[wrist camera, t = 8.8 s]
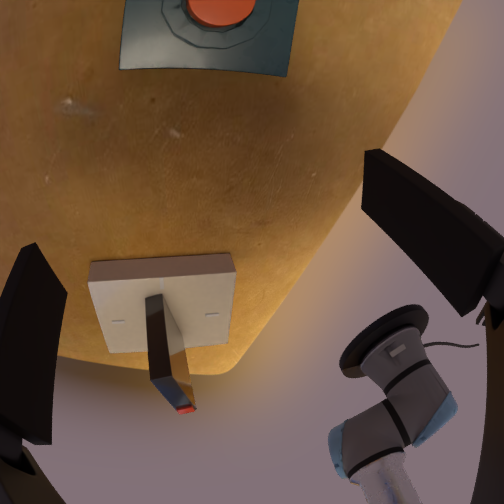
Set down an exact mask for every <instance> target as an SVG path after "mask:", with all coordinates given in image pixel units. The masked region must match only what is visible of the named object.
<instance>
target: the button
mask: <svg viewBox="0 0 504 504" xmlns="http://www.w3.org/2000/svg"><path fill="white" fill-rule="evenodd" d="M255 2H256V0H186V7H187V10H188V12H189V14H190V16H191V17H192V18H193V19H194V20H195V21H196V22H198V23H199V24H201V25H204V26H206V27H211V28H223V27H227V26H230V25H233V24H236V23H238V22H240V21H242V20H243V19H245V18H246V17H247V16H248V15H249V14H250V13H251V12H252V10H253V8H254V6H255Z"/></svg>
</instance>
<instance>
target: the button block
mask: <svg viewBox="0 0 504 504" xmlns="http://www.w3.org/2000/svg"><path fill="white" fill-rule="evenodd" d="M298 3H299V0H256V2H255V6H254V8H253V10H252V12H251V13H250V14H249V15H248V16H247V17H246V18H245V19H243V20H242V21H240V22H238V23H236V24H233V25H230V26H227V27H223V28H211V27H206V26H204V25H201V24H199V23H198V22H196V21H195V20H194V19H193V18H192V17H191V16H190V14H189V12H188V10H187V7H186V0H126V2H125V10H124V17H123V26H122V35H121V46H120V59H119V70H130V69H157V68H183V69H210V70H226V71H238V72H248V73H257V74H265V75H273V76H280V77H286V76H287V70H288V64H289V58H290V52H291V46H292V40H293V34H294V27H295V21H296V15H297V9H298Z"/></svg>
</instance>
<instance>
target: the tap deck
mask: <svg viewBox="0 0 504 504" xmlns="http://www.w3.org/2000/svg"><path fill="white" fill-rule="evenodd" d="M236 273H237V272H236V269H235V267H234V264H233V261H232V258H231V256H230V253H227V254H211V255H195V256H178V257H162V258H145V259H129V260H113V261H96V262H91V266H90V271H89V276H88V281H87V283H88V286H89V290H90V293H91V297H92V300H93V304H94V307H95V310H96V314H97V317H98V320H99V323H100V326H101V329H102V332H103V335H104V338H105V341H106V344H107V347H108V349H109V352H110V353H127V352H143V351H148V348H147V333H146V314H145V298H148V297H151V296H155V295H159V294H163V296H164V298H165V300H166V303H167V305H168V307H169V309H170V311H171V313H172V315H173V317H174V319H175V322H176V324H177V326H178V328H179V330H180V332H181V334H182V336H183V340H184V346H185V348H191V347H201V346H210V345H218V344H227V343H228V337H229V329H230V320H231V312H232V305H233V297H234V289H235V281H236Z"/></svg>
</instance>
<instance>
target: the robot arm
mask: <svg viewBox="0 0 504 504" xmlns="http://www.w3.org/2000/svg"><path fill="white" fill-rule="evenodd" d="M361 209H362V210H363V211H364V212H365V213H366V214H367V215H368V216H369V217H370V218H371V219H372V220H373V221H374V222H375V223H376V224H377V225H378V226H379V227H380V228H381V229H382V230H383V231H384V232H385V233H386V234H388V236H390V238H392V240H393V241H394V242H395V243H396V244H397V245H398V246H399V247H400V248H401V249H402V250H403V251H404V252H405V253H406V254H407V255H408V256H409V257H410V259H412V261H413V262H414V263H415V264H416V265H417V266H418V267H419V268H420V269H421V270H422V272H423V273H424V274H425V275H426V276H427V277H428V278H429V279H430V280H431V282H432V283H433V284H434V285H435V286H436V287H437V289H438V290H439V291H440V292H441V293H442V294H443V295H444V297H445V298H446V299H447V300H448V301H449V303H450V304H451V305H452V306H453V307H454V308H455V310H456V311H457V312H458V313H459V315H460V316H461V317H463V316H464V315H466V314H468V313H469V312H471V311H472V310H474V309H475V308H476V307H477V305H478V303H479V301H480V299H481V298H482V296H484V297H485V299H486V300H487V302H486V303H485V305H484V307H483V309H482V310H481V312H480V314H479V316H478V317H477V319H476V324H479V322H480V321H481V319H482V318H483V316H485V320H484V321H483V323H482V325H483V326H486V341H487V398H486V415H485V425H484V434H483V443H482V450H481V456H480V462H479V468H478V473H477V478H476V483H475V487H474V492H473V496H472V500H471V503H470V504H504V237H503V236H502V235H500V234H499V233H498V232H497V231H496V230H495V229H494V228H492V227H491V226H490V225H489V224H488V223H487V222H485V221H483V219H482V218H480V217H479V216H478V215H477V214H476V215H475V212H473V211H472V210H471V209H469V208H468V207H467V206H466V205H464V204H462V203H460V202H458V201H456V200H454V199H453V198H452V197H451V196H449V195H448V194H447V193H445V192H444V191H443V190H441V189H440V188H439V187H437V186H436V185H434V184H433V183H431V182H430V181H429V180H427V179H426V178H424V177H423V176H422V175H420V174H419V173H417V172H416V171H414V170H413V169H411V168H410V167H408V166H407V165H405V164H404V163H402V162H400V161H399V160H397V159H396V158H394V157H393V156H391V155H389V154H388V153H386V152H385V151H383V150H381V149H380V148H379V149H373V150H367V151H365V154H364V175H363V191H362V205H361ZM67 294H68V293H67V291H66V290H65V288H64V287H63V285H62V284H61V282H60V281H59V279H58V278H57V276H56V275H55V273H54V272H53V270H52V268H51V267H50V265H49V264H48V262H47V260H46V259H45V257H44V256H43V254H42V252H41V251H40V249H39V247H38V245H37V244H36V242H35V243H32V244H30V245H27V246H25V247H23V248H21V250H20V252H19V254H18V257H17V259H16V261H15V263H14V265H13V268H12V270H11V272H10V275H9V277H8V279H7V282H6V284H5V287H4V289H3V292H2V295H1V297H0V504H66V503H65V502H64V500H63V499H62V498H61V496H60V495H59V494H58V493H57V491H56V490H55V488H54V487H53V486H52V485H51V483H50V482H49V480H48V479H47V477H46V476H45V475H44V473H43V472H42V470H41V469H40V467H39V465H38V464H37V462H36V461H35V459H34V458H33V456H32V455H31V453H30V452H29V450H28V449H27V448H26V447H24V446H23V445H22V438H23V439H25V440H27V441H29V442H30V443H32V444H34V445H51V444H52V408H53V392H54V379H55V369H56V360H57V352H58V345H59V338H60V332H61V325H62V320H63V314H64V309H65V304H66V299H67ZM433 345H451V346H456V347H462V348H470V347H475V346H479V344H475V345H467V346H466V345H459V344H454V343H448V342H432V343H427V344H424V345H423V344H422V342H421V335H420V332H419V330H418V329H417V328H416V326H415V325H414V324H404V325H401V326H398V327H396V328H394V329H392V330H390V331H388V332H387V333H385V334H384V335H382V336H381V337H380V338H378V339H377V340H376V341H375V342H373V343H372V344H371V345H370V346H369V347H368V348H367V349H366V350H365V352H364V353H363V354H362V356H361V357H360V359H359V367H360V369H361V370H362V372H363V373H364V374H365V375H367V376H369V378H370V379H372V380H373V381H374V382H375V383H376V384H377V385H378V386H379V387H380V388H381V389H382V390H383V392H384V393H385V395H386V397H387V399H385V400H383V401H382V402H380V403H378V404H377V405H375V406H373V407H371V408H369V409H368V410H366V411H364V412H362V413H360V414H358V415H356V416H354V417H353V418H351V419H347V420H345V421H344V423H342V424H340V425H338V426H336V427H334V428H333V429H332V430H331V431H330V433H329V436H328V445H329V451H330V455H331V458H332V461H333V464H334V466H335V469H336V471H337V473H338V475H339V476H340V477H341V478H343V479H344V478H349V481H350V483H351V484H354V485H358V486H361V488H362V490H363V493H364V495H365V497H366V500H367V502H368V504H422V502H421V500H420V498H419V496H418V494H417V492H416V490H415V488H414V486H413V484H412V483H411V480H410V479H409V477H408V475H407V473H406V471H405V469H404V467H403V463H404V460H405V458H406V453H405V452H404V450H403V448H405V447H406V446H408V445H410V444H412V446H414V447H416V448H417V447H418V446H420V445H421V444H422V443H424V442H425V441H426V440H427V439H429V438H430V437H431V436H432V435H433V434H435V433H436V432H437V431H438V430H439V429H440V428H442V427H443V426H444V425H445V424H446V423H447V422H448V421H449V420H450V419H451V418H452V417H453V416H454V415H455V414H456V412H457V409H458V406H457V403H456V401H455V400H454V398H453V396H452V394H451V391H449V389H448V388H447V386H446V384H445V383H444V381H443V380H442V379H441V377H440V376H439V374H438V372H437V371H436V370H435V368H434V367H433V365H432V364H431V363H430V361H429V359H428V358H427V356H426V353H425V349H424V347H428V346H433Z"/></svg>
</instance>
